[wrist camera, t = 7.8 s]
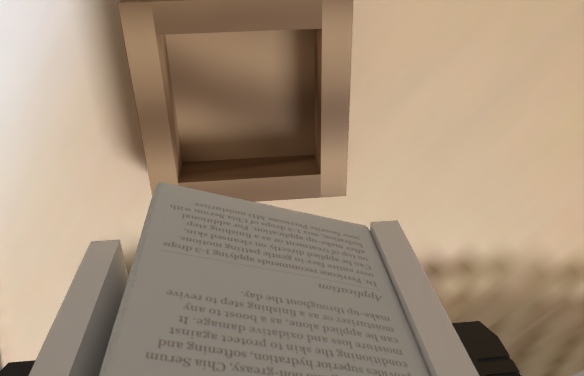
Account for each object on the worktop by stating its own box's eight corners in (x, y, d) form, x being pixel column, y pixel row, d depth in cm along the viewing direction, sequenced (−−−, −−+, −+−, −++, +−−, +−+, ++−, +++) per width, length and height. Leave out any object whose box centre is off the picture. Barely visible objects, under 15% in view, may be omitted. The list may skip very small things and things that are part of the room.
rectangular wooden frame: (131, -7, 26) (117, 2, 23) (341, -14, 26) (353, -6, 23) (162, 181, 31) (154, 207, 28) (336, 170, 32) (346, 195, 29)
